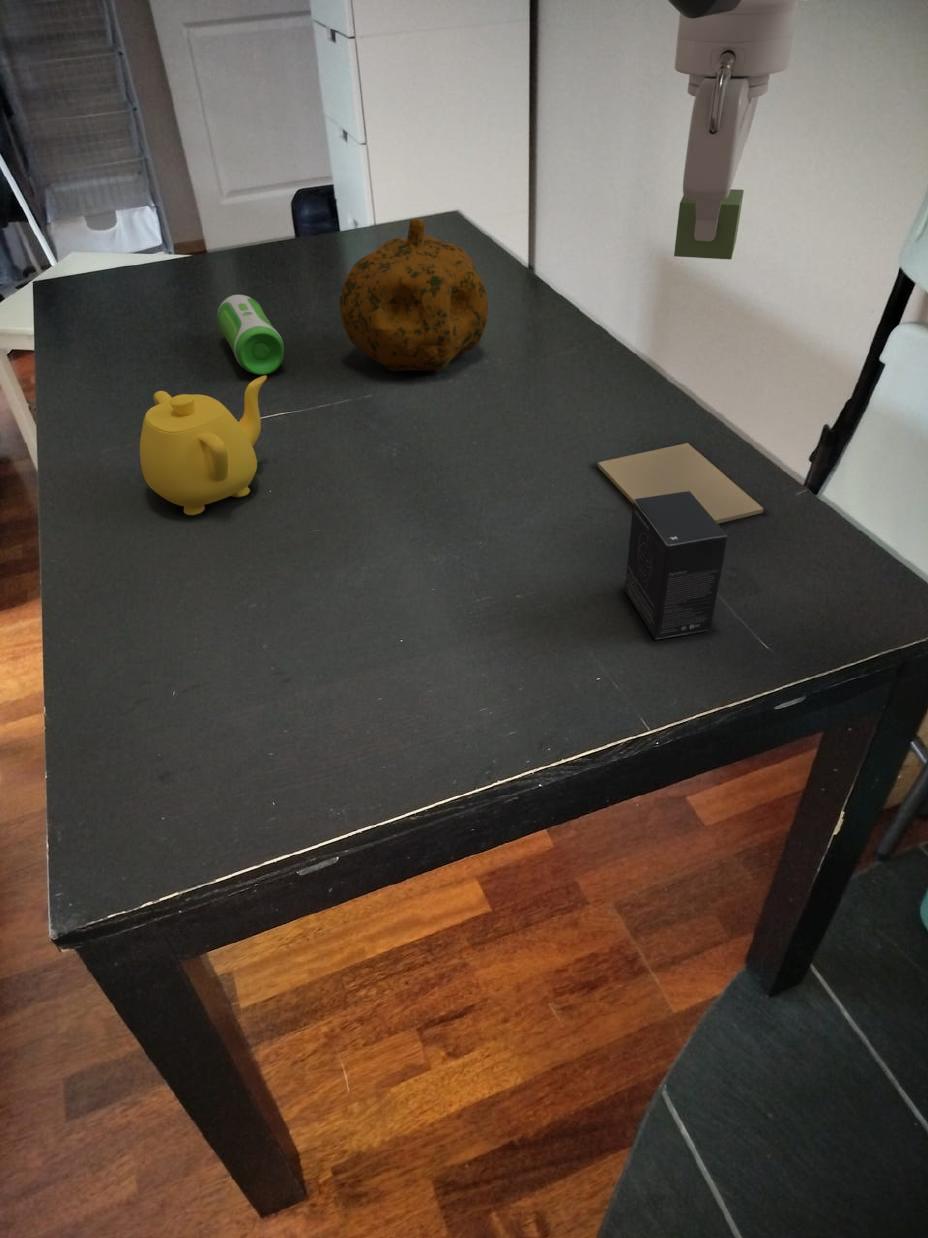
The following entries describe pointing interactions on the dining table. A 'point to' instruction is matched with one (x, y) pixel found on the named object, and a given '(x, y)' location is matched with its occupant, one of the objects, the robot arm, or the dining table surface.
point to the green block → (724, 234)
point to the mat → (680, 480)
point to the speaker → (250, 335)
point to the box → (674, 564)
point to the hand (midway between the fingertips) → (708, 227)
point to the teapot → (199, 448)
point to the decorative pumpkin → (414, 303)
